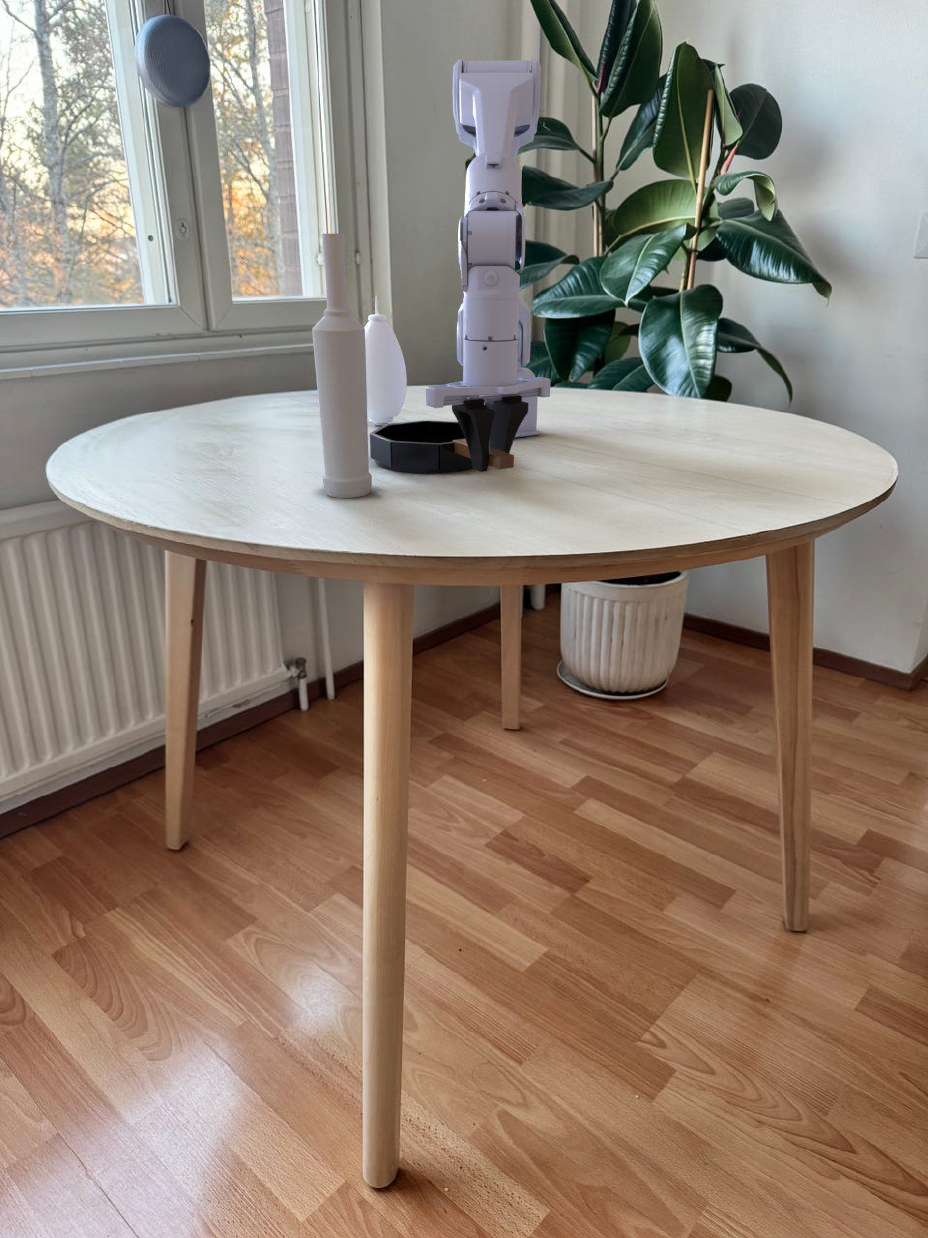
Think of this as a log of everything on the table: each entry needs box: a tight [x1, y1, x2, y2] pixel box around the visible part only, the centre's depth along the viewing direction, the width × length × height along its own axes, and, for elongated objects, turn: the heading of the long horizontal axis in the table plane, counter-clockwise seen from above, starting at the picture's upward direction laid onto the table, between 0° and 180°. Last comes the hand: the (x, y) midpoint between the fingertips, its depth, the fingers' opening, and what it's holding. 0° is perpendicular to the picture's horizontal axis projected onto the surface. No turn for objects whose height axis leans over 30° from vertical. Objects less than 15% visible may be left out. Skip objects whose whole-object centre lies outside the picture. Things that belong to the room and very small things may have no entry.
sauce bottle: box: [364, 294, 408, 426], centre depth 120 cm, size 8×8×18 cm
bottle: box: [311, 233, 373, 499], centre depth 84 cm, size 5×5×25 cm
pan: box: [369, 419, 515, 475], centre depth 98 cm, size 14×24×4 cm, turn 31°
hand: (489, 468), depth 92 cm, fingers closed on pan, 2 cm apart
